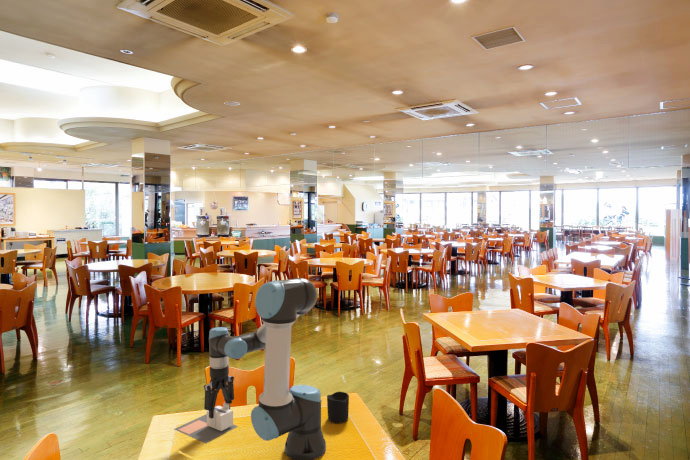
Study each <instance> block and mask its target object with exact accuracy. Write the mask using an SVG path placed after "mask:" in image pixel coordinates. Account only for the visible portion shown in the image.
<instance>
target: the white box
mask: <svg viewBox="0 0 690 460" xmlns="http://www.w3.org/2000/svg"><path fill="white" fill-rule="evenodd" d="M214 409H215V410H216V426H215V427H214V426H212V425H210V418H209V411H208V410H206V414H207V426H210V427H212V428H215V429H217V430H220V431H223V430H225V429H227V428H228V427H230V426H232V425H233V424H234V410H232V409H231V408H230V409H227V408H224V407H223V406H221V405H215V408H214Z"/></svg>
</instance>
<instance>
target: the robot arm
mask: <svg viewBox="0 0 690 460" xmlns="http://www.w3.org/2000/svg"><path fill="white" fill-rule="evenodd" d="M317 300H318V290H317V288H316V285H315V284H314V283H313V282H311V281H310V280H308V279H306V278H305V277H304V278H303V277H298V278H297V277H296V278H289V279H281V280H276V279H275V280H272V281H268V282H265V283H263V284H262V285H261V286H260V287H259V288H258V289H257V291H256V294H255V300H254V305H255V309H256V312H257V313H256V314H257V315H258V316H259V317H260V318H261V322H262V324H261V326H260V327H259V328H257V329H256V330H255V331H253V332H248V333H243V334H239V335H236V336H235V335H234V336H231V335H229V328H228V327H226V326H220V327H219V326H217V327H212V328H211V329H210V330H209V332H208V333H209V335H208V344H209V346H208V347H209V349H208V351H209V354H208V355H209V377H210V380H209V383H208V384H205V385H204V386H203V389H204V403H203V404H204V405H203V406H204V407H203V409H204V410H205V411H207V410H208V411H209V418H210V425H212V426H214V427H215V426H216V410H215V409H214V408H215V407H216V403H217V398H218V394H219V393H220V390H221V393H222V396H223V400H224V402H223V406H222V407H224V408H227V409H230V410H231V405H232V403H233V401H234V399H235V393H234V392H235V389H234V388H235V387H234V380H235V376H232V375H229V374H230V370H229V367H230V366H229V363H230V361H229V360H230V359H235V360H239V359H242V358H243V357H244V356H245V355H246V354H248V353H253V352H256V351H260V350H264V372H263V376H264V377H263V392H261V394H259V396H258V406H257V405H256V406H254V407H253V409H252V410H251V412H250V420H251V424H252V427H253V430H254V431H255V433H256V435H257V436H258V437H259V438H260V439H261V440H263V441H265V442H267V441H268V442H269V441H271V440H274V439H278V438H279V437H281V436H283V435H286V434H287V433H288V434H287V437H286V440H285V443H284V452H285V453H284V454H285V456H286V457H288V458H289V459H291V460H316V459H318V458H321V457H322V456H323V455H324V454H325V453H326V451H327V444H326V443H327V442H326V439H325V437H324V434H323V431H322V395H321V394H322V393H321V391H320V389H319V388H317V387H315V386H313V385H307V384H306V385H305V384H297V385H292V386H291V387H290V372H291V371H290V369H291V368H290V367H291V350H292V349H291V347H292V346H291V345H292V344H291V343H292V327H293V324H294V323H295V322H296V321H297V319H298V318H299V317H300V316H304V315H306V314H308V313H309V312H310V311H311V309H313V308H314V306H315V305H316V303H317ZM229 358H230V359H229Z"/></svg>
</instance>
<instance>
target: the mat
mask: <svg viewBox="0 0 690 460" xmlns="http://www.w3.org/2000/svg"><path fill="white" fill-rule="evenodd" d="M238 427H239V426H238V425H235V424H234V423H233V425H232V426H230V427H228V428H227V429H225V430H223V431H220V430H217V429H215V428H212V427H210V426H207V413H206V414H204V415H201V416H200V417H197V418H195V419H193V420H191V421H188V422H187V423H184V424H181V425H180V426H177V427H176V428H174V430H175V431H176V432H177V431H178V432H180V433H182V434H184V435H187V437H191V438H192V439H196V440H197V441H199V442H202V443H204V444H207V443H210V442H211V441H213V440H215V439H217V438H218V437H220V436H223V435H225V434H227V433H228V432H231V431H232V430H234V429H236V428H238Z"/></svg>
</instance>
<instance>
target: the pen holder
mask: <svg viewBox="0 0 690 460" xmlns="http://www.w3.org/2000/svg"><path fill="white" fill-rule="evenodd" d="M349 395H350V394H348V393H347V392H344V391H336V392H334V393H332V394H328V395H326V405H327V419H328V421H329V422H330V423H332V424H344V423H345V422H347V421H348V419H349V407H350V406H349V404H350V402H349V401H350V396H349Z"/></svg>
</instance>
